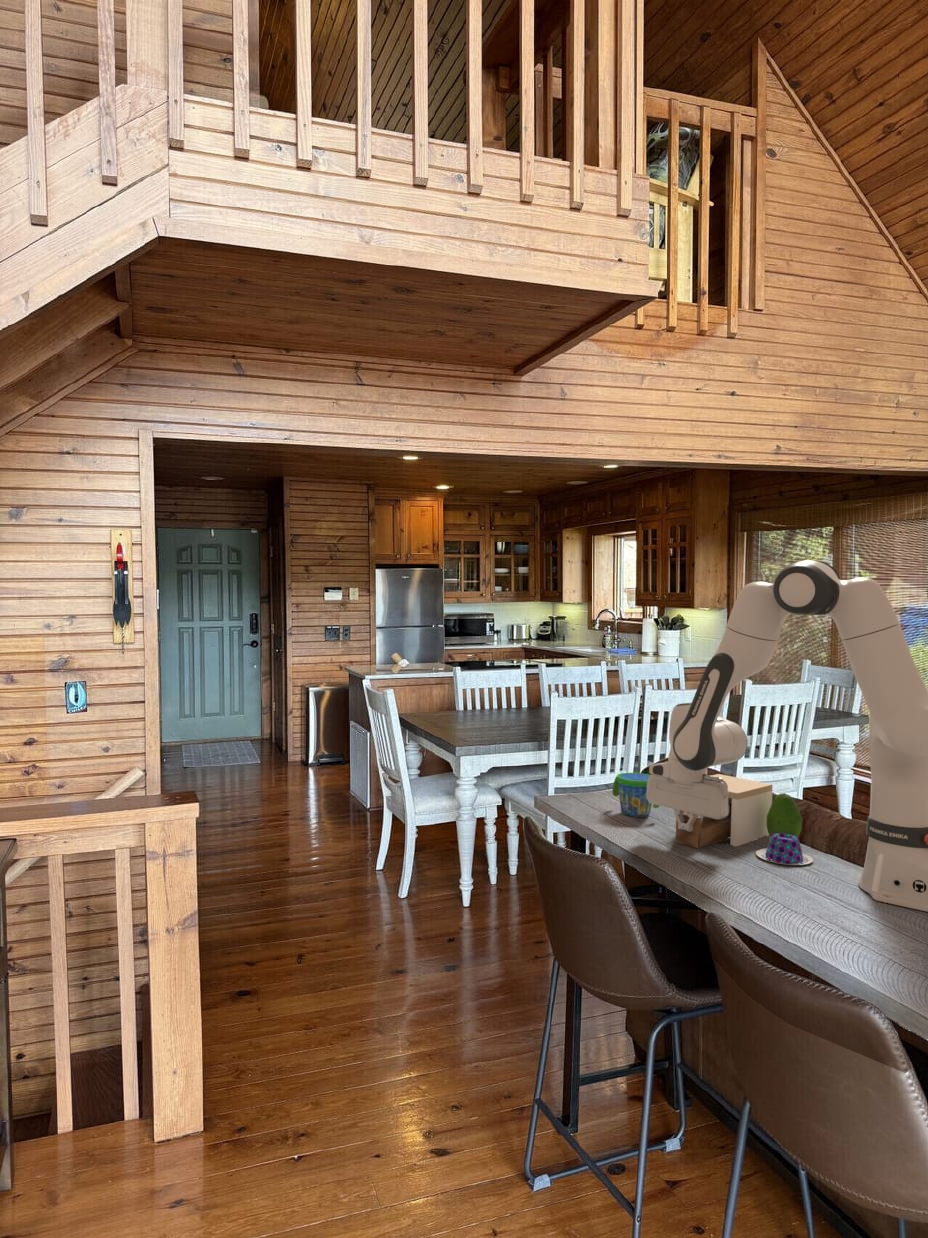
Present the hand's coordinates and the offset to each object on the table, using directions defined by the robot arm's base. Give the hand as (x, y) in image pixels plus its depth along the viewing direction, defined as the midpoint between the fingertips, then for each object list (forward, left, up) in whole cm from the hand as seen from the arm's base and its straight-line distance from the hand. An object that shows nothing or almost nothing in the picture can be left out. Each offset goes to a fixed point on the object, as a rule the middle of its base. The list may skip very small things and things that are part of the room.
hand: (685, 830), depth 194 cm
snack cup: (+25, -14, -4) cm, 29 cm away
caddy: (0, -10, -4) cm, 11 cm away
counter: (0, -17, -4) cm, 18 cm away
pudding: (-19, -10, -4) cm, 22 cm away
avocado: (-13, -21, -4) cm, 25 cm away
